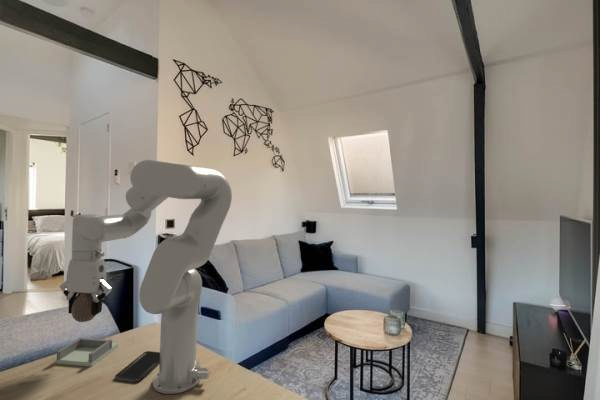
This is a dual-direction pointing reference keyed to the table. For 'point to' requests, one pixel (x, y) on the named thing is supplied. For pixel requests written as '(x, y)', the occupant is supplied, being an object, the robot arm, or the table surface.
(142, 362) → the phone
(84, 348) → the grey-green shallow square tray
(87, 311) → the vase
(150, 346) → the table surface
